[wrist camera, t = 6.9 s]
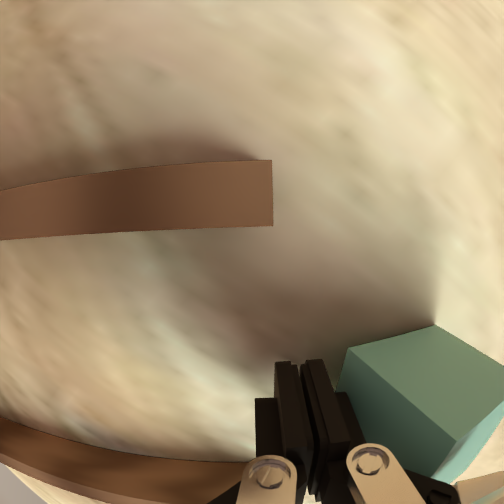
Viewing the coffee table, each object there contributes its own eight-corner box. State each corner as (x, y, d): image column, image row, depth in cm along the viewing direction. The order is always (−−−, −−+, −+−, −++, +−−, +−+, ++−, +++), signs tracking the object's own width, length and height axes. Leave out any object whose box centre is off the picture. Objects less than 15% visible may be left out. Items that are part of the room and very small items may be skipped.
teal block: (435, 324, 11) (524, 378, 7) (400, 412, 13) (465, 470, 8) (348, 347, 9) (456, 441, 5) (317, 445, 11) (383, 529, 6)
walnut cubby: (265, 163, 10) (271, 160, 7) (267, 476, 14) (269, 519, 11) (-77, 213, 10) (-111, 224, 7) (-6, 425, 14) (-24, 448, 11)
